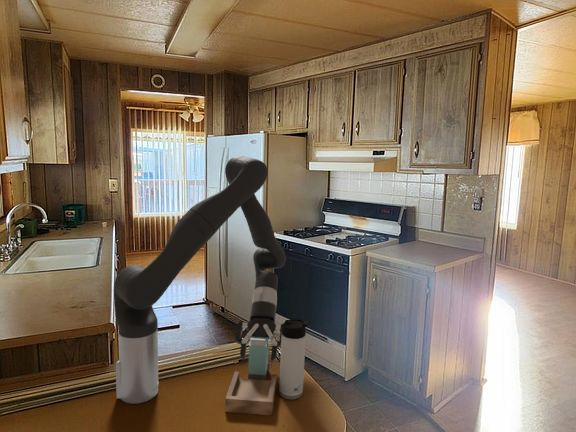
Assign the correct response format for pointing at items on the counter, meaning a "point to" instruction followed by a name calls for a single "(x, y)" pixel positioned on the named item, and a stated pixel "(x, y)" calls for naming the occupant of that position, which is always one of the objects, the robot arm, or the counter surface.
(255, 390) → the wooden tray
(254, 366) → the mint green block
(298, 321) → the travel mug
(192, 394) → the counter surface
